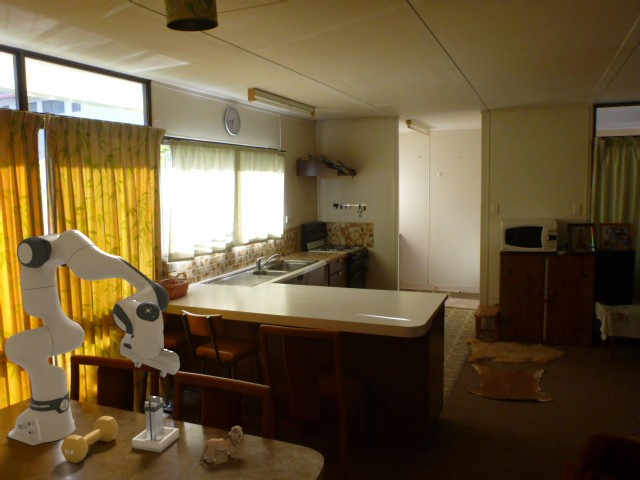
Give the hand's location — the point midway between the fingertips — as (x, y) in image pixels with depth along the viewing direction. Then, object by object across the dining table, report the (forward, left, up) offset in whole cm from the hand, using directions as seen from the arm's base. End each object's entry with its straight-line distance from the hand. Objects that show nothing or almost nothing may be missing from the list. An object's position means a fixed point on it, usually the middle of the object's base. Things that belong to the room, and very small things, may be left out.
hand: (150, 370), depth 179 cm
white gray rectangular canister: (+1, -1, -24) cm, 24 cm away
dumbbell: (-17, -11, -26) cm, 33 cm away
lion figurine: (+28, -3, -25) cm, 38 cm away
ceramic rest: (+1, -1, -25) cm, 25 cm away
